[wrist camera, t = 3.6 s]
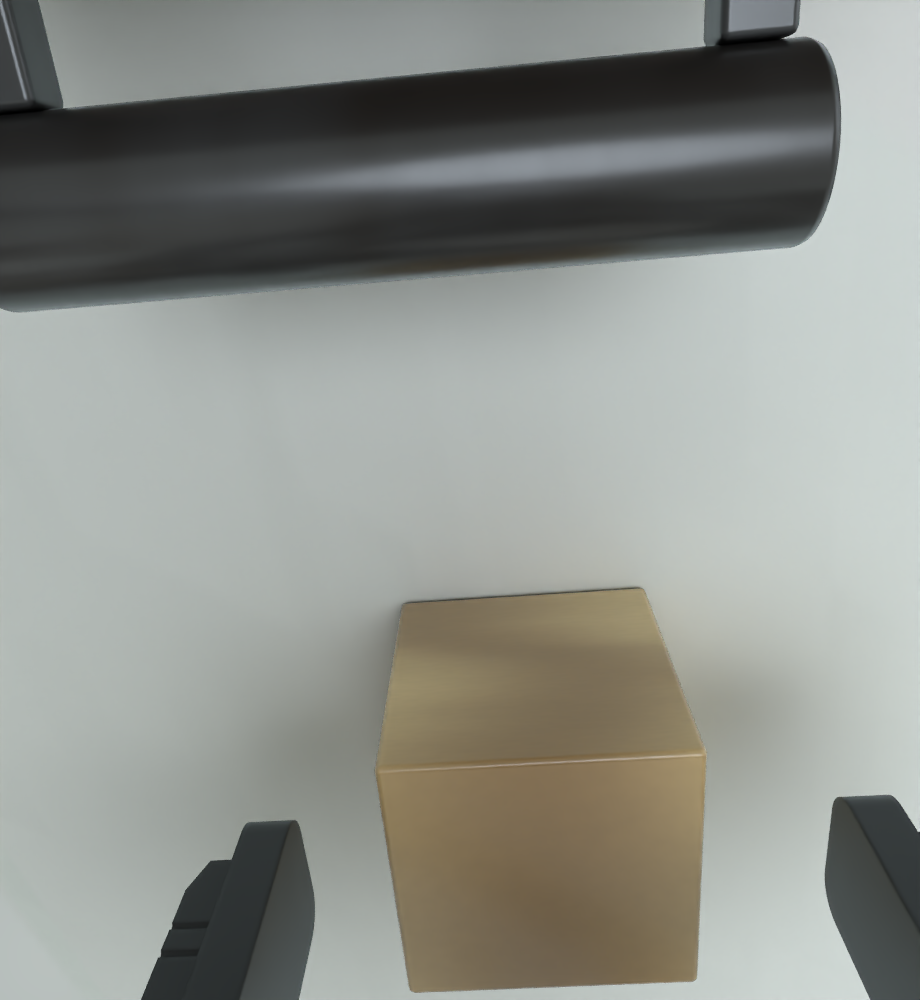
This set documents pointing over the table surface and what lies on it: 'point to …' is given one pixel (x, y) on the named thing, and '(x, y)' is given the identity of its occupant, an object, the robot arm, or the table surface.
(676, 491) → the table surface
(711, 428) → the table surface
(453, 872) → the maple cube
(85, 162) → the drawer
